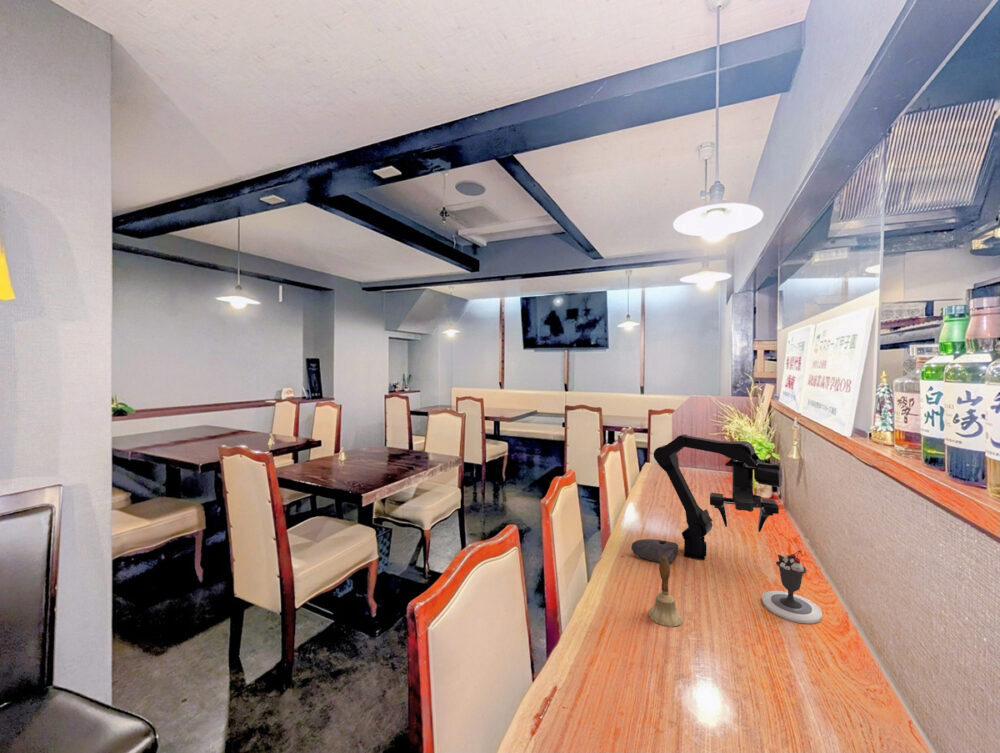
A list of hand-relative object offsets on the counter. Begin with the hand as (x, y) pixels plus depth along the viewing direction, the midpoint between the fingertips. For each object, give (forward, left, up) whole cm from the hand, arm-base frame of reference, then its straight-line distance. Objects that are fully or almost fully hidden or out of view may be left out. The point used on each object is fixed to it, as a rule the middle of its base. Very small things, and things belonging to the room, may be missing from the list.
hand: (742, 529), depth 130 cm
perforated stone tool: (-26, -6, -13) cm, 30 cm away
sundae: (+10, -19, -12) cm, 24 cm away
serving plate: (+10, -19, -13) cm, 25 cm away
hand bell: (-20, -38, -13) cm, 45 cm away
